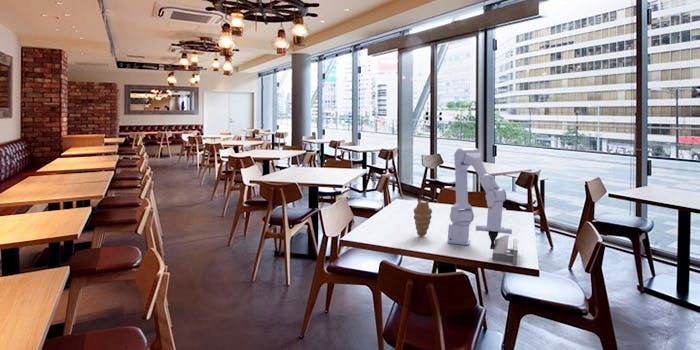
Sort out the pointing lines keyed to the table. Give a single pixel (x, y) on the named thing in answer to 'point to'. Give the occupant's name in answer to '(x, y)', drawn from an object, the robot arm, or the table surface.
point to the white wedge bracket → (501, 245)
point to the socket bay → (508, 257)
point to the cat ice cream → (422, 217)
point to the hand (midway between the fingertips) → (492, 248)
